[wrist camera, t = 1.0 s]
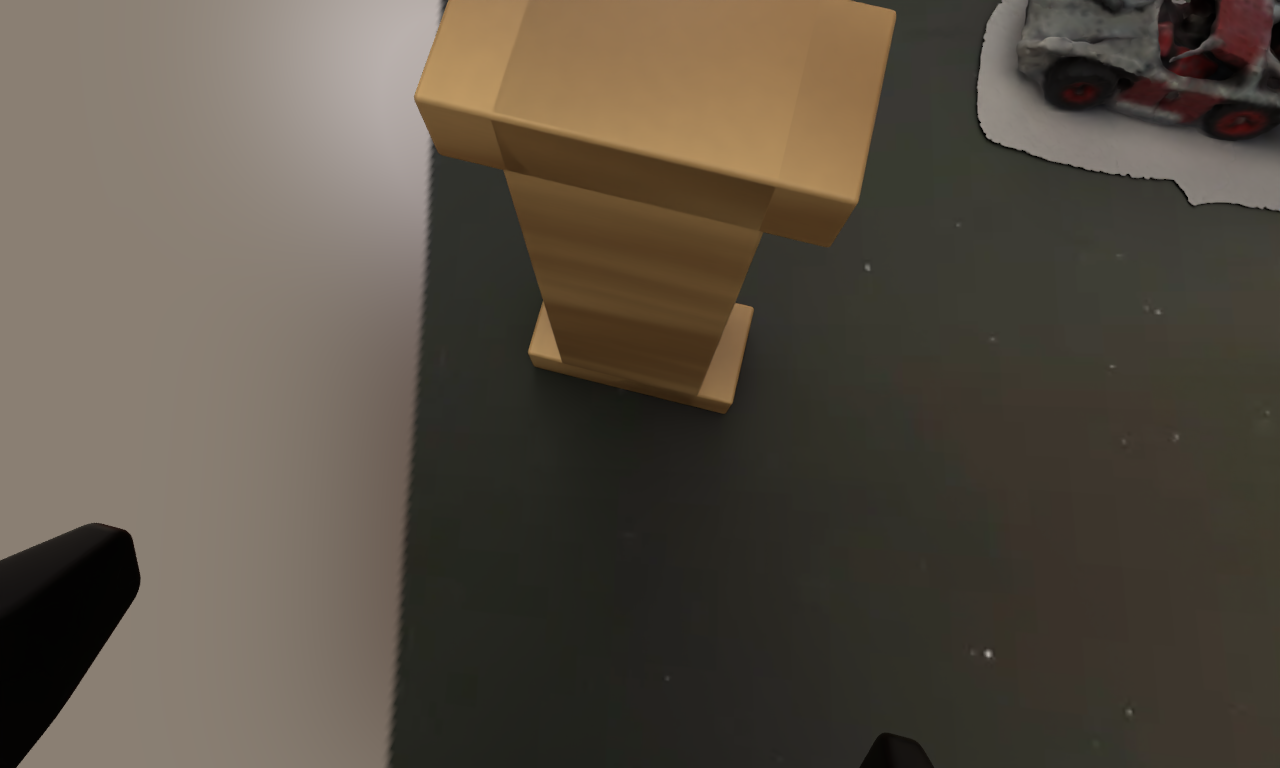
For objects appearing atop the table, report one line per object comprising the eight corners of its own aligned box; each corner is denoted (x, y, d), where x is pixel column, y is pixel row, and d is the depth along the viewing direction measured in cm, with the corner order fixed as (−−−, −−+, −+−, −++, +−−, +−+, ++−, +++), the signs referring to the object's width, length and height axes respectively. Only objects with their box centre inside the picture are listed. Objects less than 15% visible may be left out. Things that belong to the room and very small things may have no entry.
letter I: (725, 415, 24) (860, 204, 10) (532, 366, 24) (410, 97, 10) (747, 322, 24) (898, 8, 11) (559, 276, 25) (477, -87, 11)
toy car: (962, -17, 27) (1004, -91, 24) (1305, -11, 28) (1389, -83, 25) (985, 207, 26) (1034, 158, 22) (1354, 212, 26) (1452, 164, 23)
